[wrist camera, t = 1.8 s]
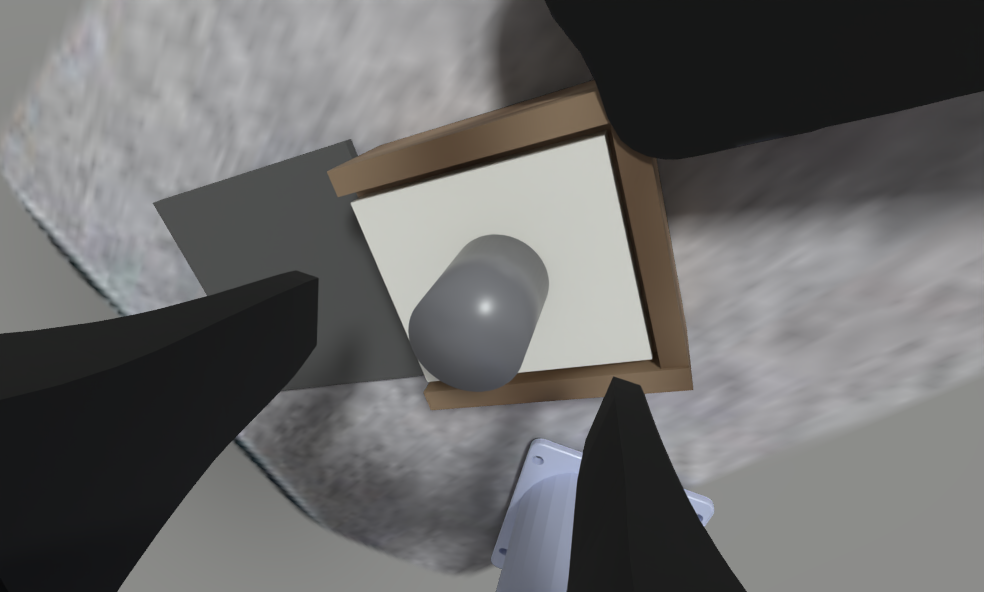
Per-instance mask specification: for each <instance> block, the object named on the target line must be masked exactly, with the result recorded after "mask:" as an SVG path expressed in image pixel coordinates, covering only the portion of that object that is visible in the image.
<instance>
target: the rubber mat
mask: <svg viewBox="0 0 984 592" xmlns="http://www.w3.org/2000/svg"><path fill="white" fill-rule="evenodd" d="M355 157H358V155H357V153H356V151H355V148H354V146H353V143H352V141H351V139H350V140H347V141H344V142H340V143H337V144H334V145H331V146H328V147H325V148H322V149H319V150H315V151H312V152H309V153H306V154H303V155H300V156H297V157H294V158H290V159H287V160H284V161H281V162H278V163H275V164H272V165H269V166H266V167H262V168H259V169H256V170H253V171H250V172H247V173H244V174H241V175H237V176H234V177H231V178H228V179H225V180H222V181H219V182H216V183H213V184H209V185H206V186H203V187H200V188H197V189H194V190H191V191H188V192H184V193H181V194H178V195H175V196H172V197H169V198H166V199H163V200H160V201H157V202H154V203H153V204H154V206H155V208H156V209H157V211H158V213H159V214H160V216H161V218H162V220H163V221H164V223H165V225H166V226H167V228H168V230H169V231H170V233H171V235H172V237H173V238H174V240H175V242H176V243H177V245H178V247H179V248H180V250H181V252H182V254H183V255H184V257H185V259H186V260H187V262H188V264H189V265H190V267H191V269H192V271H193V272H194V274H195V276H196V277H197V279H198V281H199V282H200V284H201V286H202V288H203V289H204V291H205V293H206V294H207V296H210V295H213V294H216V293H219V292H223V291H226V290H229V289H233V288H236V287H239V286H242V285H246V284H249V283H252V282H255V281H259V280H262V279H265V278H268V277H272V276H275V275H279V274H282V273H286V272H290V271H295V270H297V271H300V272H303V273H306V274H309V275H312V276H315V277H318V278H319V287H318V324H317V346H316V347H315V349H314V350H313V351H312V353H311V354H310V356H309V357H308V359H307V360H306V361H305V363H304V364H303V365H302V367H301V368H300V369H299V371H298V372H297V373H296V375H295V376H294V377H293V378H292V379H291V380H290V382H289V383H288V384H287V385H286V386H285V387H284V388H283V389H282V390H291V389H300V388H310V387H319V386H329V385H338V384H347V383H357V382H366V381H375V380H385V379H394V378H404V377H413V376H422V375H424V373H423V371H422V368H421V366H420V364H419V361H418V359H417V357H416V356H415V354H414V352H413V350H412V347H411V344H410V340H409V338H408V336H407V333H406V331H405V329H404V327H403V324H402V322H401V320H400V317H399V315H398V313H397V310H396V308H395V306H394V303H393V301H392V299H391V296H390V294H389V292H388V289H387V287H386V285H385V282H384V280H383V278H382V275H381V273H380V271H379V268H378V266H377V264H376V261H375V259H374V257H373V254H372V252H371V250H370V247H369V245H368V243H367V240H366V238H365V236H364V233H363V231H362V229H361V226H360V224H359V222H358V219H357V217H356V215H355V212H354V210H353V208H352V206H351V202H353V201H354V200H356V199H357V198H358V196H357V194H356V192H355V193H351V194H348V195H344V196H340V197H338V196H337V194H336V192H335V190H334V187H333V185H332V183H331V180H330V178H329V176H328V174H327V171H329V170H331V169H333V168H335V167H337V166H339V165H341V164H343V163H345V162H347V161H349V160H351V159H353V158H355ZM282 390H281V391H282Z"/></svg>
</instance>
